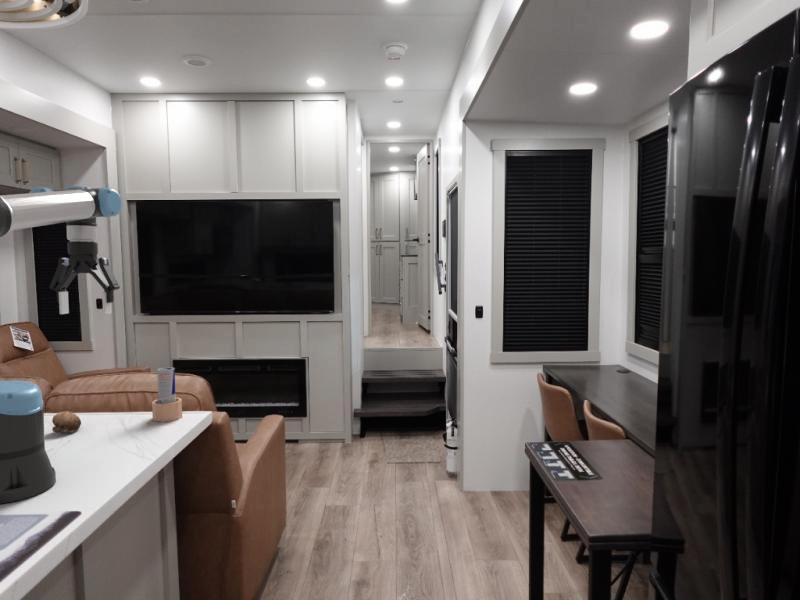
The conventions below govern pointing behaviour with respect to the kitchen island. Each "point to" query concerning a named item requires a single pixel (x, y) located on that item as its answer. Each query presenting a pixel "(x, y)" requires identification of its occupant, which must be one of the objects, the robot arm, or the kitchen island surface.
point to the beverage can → (166, 385)
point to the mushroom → (66, 422)
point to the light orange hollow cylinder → (167, 410)
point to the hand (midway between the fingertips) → (85, 314)
